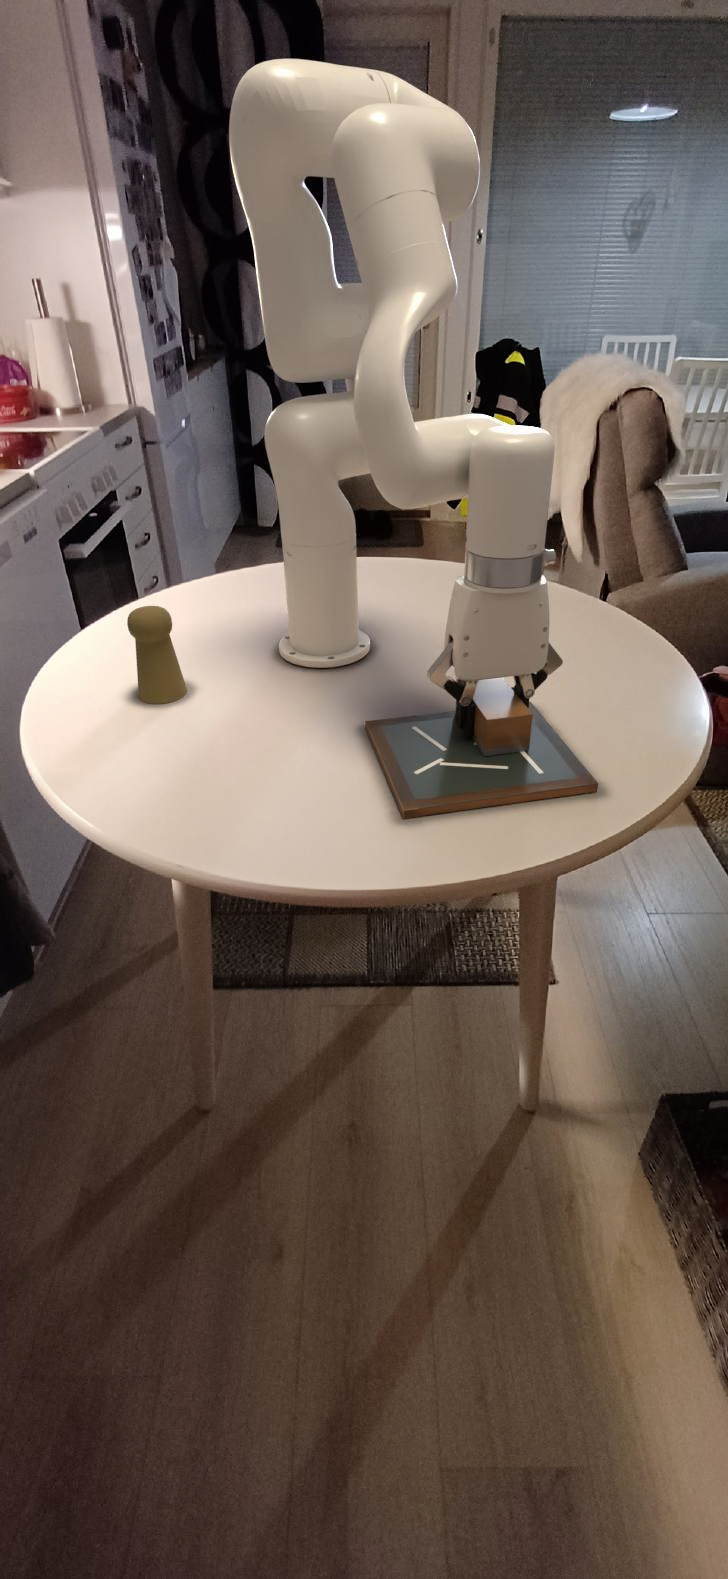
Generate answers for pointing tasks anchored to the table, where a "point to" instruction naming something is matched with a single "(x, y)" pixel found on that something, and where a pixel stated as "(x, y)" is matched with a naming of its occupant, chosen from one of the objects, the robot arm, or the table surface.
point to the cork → (155, 656)
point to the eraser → (500, 718)
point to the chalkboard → (470, 766)
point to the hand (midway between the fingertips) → (490, 727)
